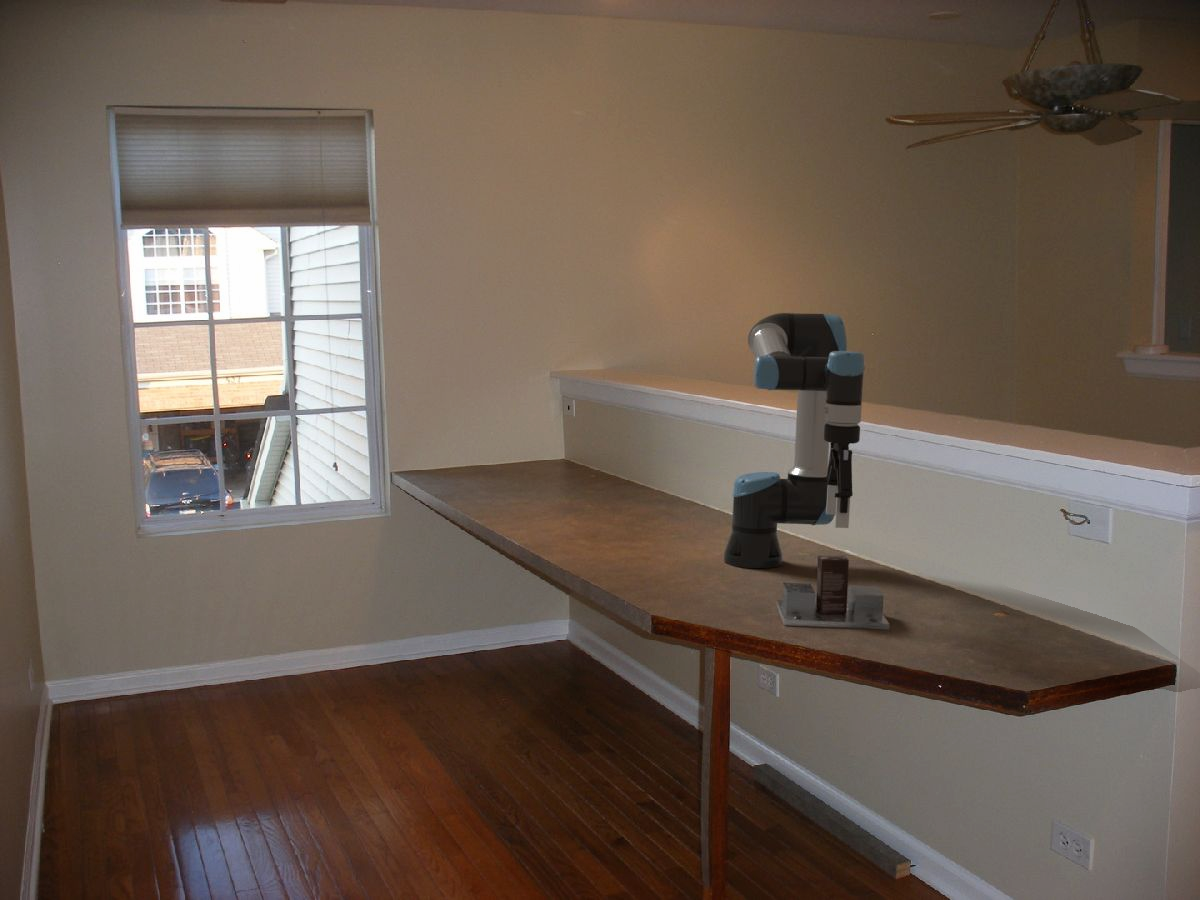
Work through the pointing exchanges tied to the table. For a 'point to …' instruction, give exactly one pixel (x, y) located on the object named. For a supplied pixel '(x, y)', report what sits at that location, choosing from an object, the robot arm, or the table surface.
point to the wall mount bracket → (860, 613)
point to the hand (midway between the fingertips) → (836, 520)
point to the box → (832, 584)
